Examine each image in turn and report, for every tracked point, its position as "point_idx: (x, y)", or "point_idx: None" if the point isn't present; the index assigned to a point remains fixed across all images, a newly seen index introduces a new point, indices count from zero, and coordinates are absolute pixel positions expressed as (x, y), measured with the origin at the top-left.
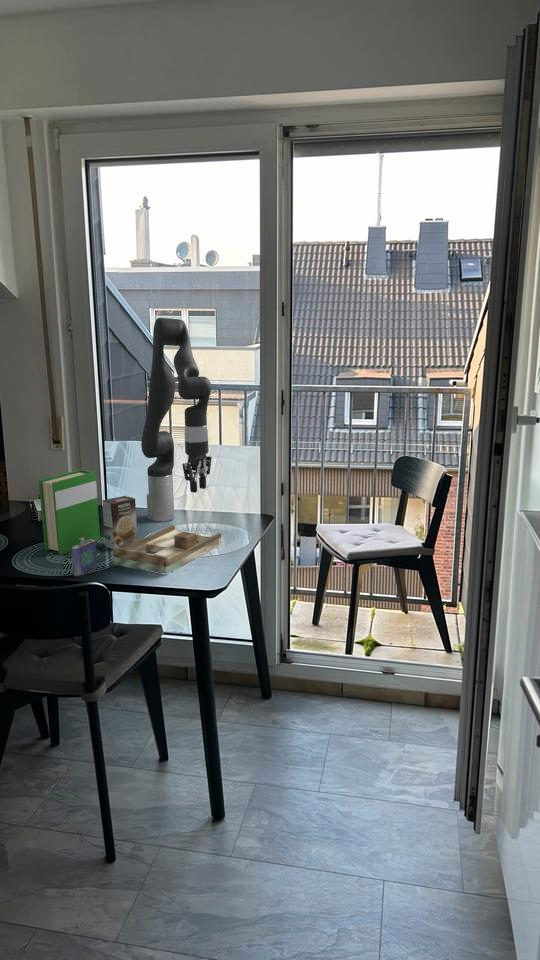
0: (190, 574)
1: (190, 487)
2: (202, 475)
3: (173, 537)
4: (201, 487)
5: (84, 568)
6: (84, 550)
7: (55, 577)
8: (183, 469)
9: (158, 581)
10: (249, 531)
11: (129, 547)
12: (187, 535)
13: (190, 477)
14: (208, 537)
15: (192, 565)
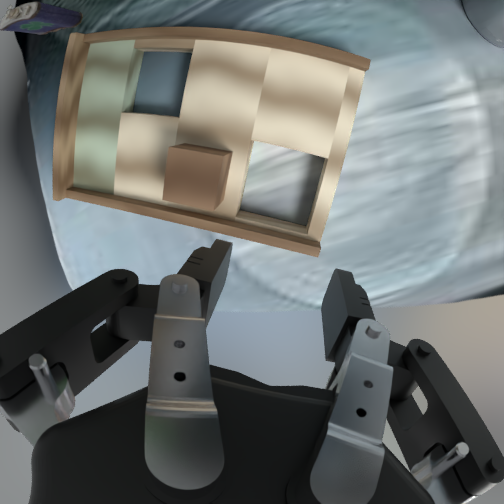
0: (100, 234)
1: (188, 260)
2: (342, 358)
3: (280, 95)
4: (331, 284)
5: (45, 28)
6: (20, 24)
7: None
8: (18, 327)
9: None
10: (429, 284)
11: (122, 38)
12: (186, 190)
13: (95, 336)
14: (314, 210)
15: (141, 219)
